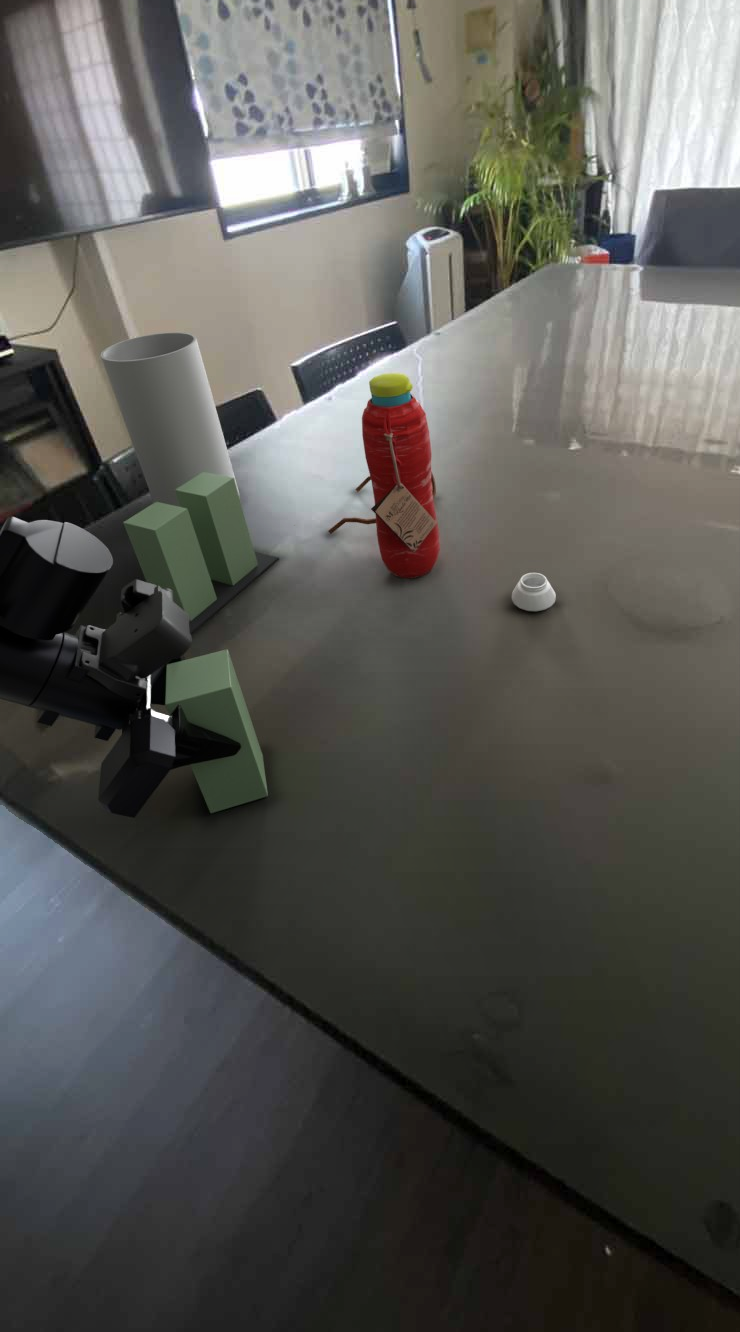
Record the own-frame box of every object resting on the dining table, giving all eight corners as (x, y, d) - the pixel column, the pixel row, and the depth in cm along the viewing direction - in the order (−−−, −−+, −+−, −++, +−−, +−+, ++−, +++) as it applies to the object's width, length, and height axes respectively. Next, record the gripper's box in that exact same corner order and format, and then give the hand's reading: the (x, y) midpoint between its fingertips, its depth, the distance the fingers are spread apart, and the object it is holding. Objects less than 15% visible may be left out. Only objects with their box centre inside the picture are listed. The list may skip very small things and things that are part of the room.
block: (210, 813, 59) (164, 704, 52) (208, 771, 63) (166, 664, 56) (268, 796, 60) (231, 686, 53) (262, 755, 64) (227, 648, 57)
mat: (130, 685, 74) (130, 683, 73) (81, 666, 77) (80, 664, 77) (279, 559, 92) (278, 557, 92) (233, 548, 95) (233, 546, 95)
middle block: (188, 622, 81) (154, 530, 74) (158, 613, 84) (122, 522, 76) (217, 599, 85) (187, 508, 78) (187, 590, 87) (156, 501, 80)
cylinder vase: (252, 487, 110) (211, 330, 96) (222, 528, 100) (170, 359, 86) (181, 488, 112) (130, 334, 98) (144, 528, 102) (81, 363, 88)
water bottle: (440, 601, 81) (421, 399, 67) (374, 603, 82) (341, 404, 68) (445, 546, 91) (429, 360, 77) (386, 548, 92) (359, 364, 78)
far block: (233, 585, 87) (205, 496, 80) (204, 577, 89) (174, 489, 82) (258, 565, 91) (233, 477, 83) (229, 557, 93) (203, 471, 85)
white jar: (524, 583, 83) (504, 606, 79) (524, 563, 81) (503, 585, 78) (562, 595, 80) (543, 618, 77) (563, 574, 78) (543, 598, 75)
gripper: (87, 670, 40) (307, 740, 49) (107, 523, 55) (273, 596, 64) (3, 797, 43) (224, 842, 52) (43, 624, 58) (210, 681, 66)
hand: (235, 727), depth 58 cm, fingers closed on block, 5 cm apart
